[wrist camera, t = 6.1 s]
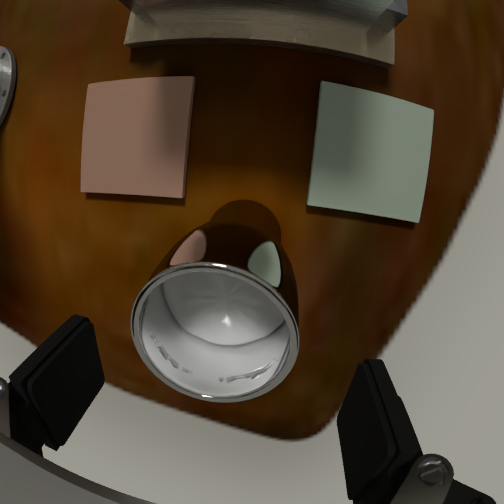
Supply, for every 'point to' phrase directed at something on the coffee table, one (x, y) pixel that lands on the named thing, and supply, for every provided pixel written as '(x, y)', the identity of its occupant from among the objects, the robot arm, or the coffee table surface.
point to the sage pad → (370, 153)
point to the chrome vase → (221, 308)
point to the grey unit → (272, 25)
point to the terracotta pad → (137, 136)
